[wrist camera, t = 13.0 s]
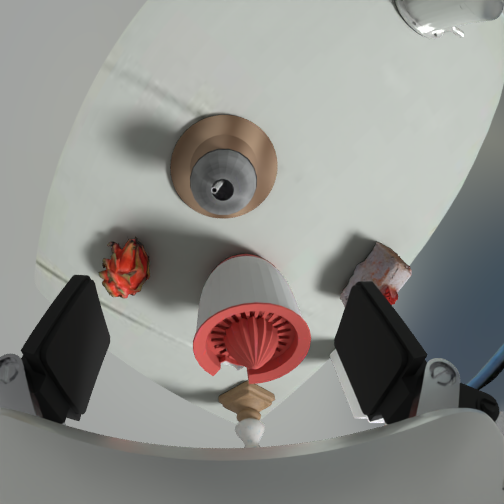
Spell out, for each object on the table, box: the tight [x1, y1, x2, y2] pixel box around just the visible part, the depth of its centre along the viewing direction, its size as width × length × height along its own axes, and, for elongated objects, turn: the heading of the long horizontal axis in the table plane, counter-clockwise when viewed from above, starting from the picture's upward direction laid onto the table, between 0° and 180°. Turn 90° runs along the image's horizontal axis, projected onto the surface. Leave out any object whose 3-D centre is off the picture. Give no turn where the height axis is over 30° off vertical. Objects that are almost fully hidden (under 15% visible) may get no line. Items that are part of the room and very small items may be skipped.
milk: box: [329, 349, 385, 423], centre depth 51 cm, size 6×6×22 cm
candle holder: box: [219, 381, 275, 448], centre depth 55 cm, size 11×11×24 cm
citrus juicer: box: [193, 254, 311, 384], centre depth 41 cm, size 16×17×20 cm
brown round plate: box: [170, 115, 277, 218], centre depth 39 cm, size 16×16×1 cm
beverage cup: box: [190, 149, 257, 215], centre depth 30 cm, size 7×7×20 cm
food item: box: [340, 242, 412, 307], centre depth 47 cm, size 14×8×10 cm, turn 153°
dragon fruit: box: [99, 237, 150, 298], centre depth 42 cm, size 8×8×12 cm
